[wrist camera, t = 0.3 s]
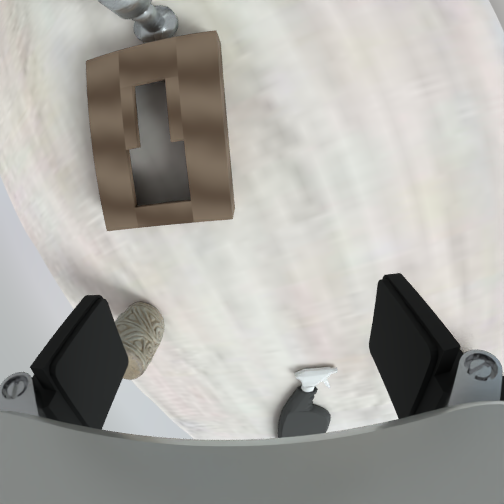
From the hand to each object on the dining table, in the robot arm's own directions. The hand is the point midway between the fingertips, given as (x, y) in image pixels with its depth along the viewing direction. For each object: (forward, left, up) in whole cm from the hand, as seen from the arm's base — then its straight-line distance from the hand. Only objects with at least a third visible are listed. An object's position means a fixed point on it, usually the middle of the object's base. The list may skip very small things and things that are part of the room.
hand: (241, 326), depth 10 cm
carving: (+20, -18, -31) cm, 41 cm away
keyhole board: (-7, -10, -30) cm, 33 cm away
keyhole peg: (-22, -10, -30) cm, 39 cm away
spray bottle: (+45, +8, -31) cm, 55 cm away
